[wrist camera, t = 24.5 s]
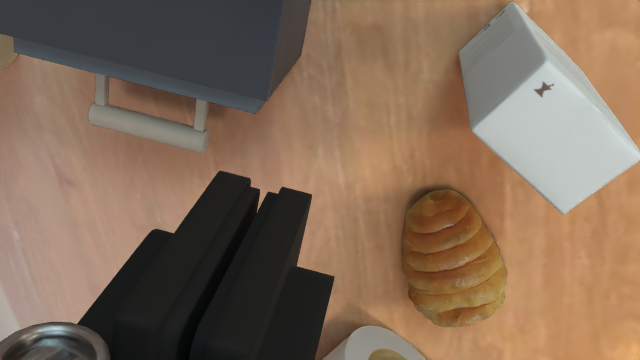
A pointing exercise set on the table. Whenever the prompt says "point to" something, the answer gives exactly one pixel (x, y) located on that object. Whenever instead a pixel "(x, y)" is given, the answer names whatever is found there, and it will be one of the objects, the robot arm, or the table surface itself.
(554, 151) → the cosmetic box
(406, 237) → the pastry
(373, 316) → the table surface
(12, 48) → the paper roll
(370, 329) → the toilet paper
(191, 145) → the drawer
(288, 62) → the cabinet
